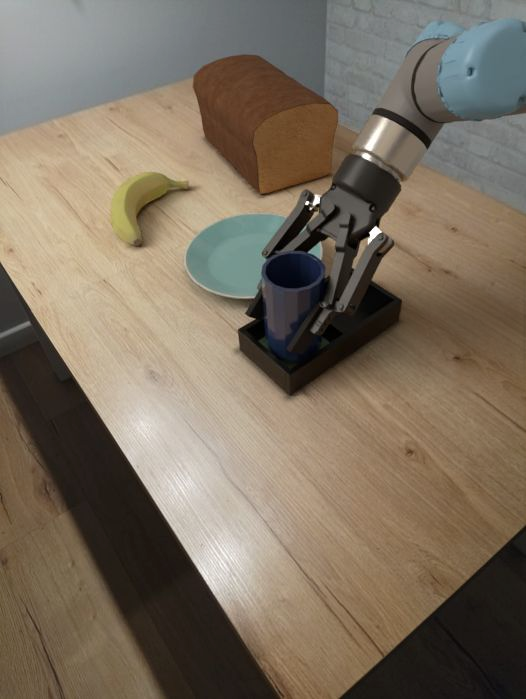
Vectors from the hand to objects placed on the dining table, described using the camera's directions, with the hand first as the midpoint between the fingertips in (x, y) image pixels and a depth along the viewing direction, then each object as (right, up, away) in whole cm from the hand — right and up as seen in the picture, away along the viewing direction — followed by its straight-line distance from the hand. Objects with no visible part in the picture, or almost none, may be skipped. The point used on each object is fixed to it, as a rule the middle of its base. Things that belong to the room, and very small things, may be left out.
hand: (273, 333), depth 65 cm
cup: (+3, -1, +4) cm, 5 cm away
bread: (-1, +39, +45) cm, 59 cm away
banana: (-21, +24, +32) cm, 45 cm away
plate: (-3, +12, +20) cm, 23 cm away
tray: (+7, 0, +8) cm, 10 cm away
